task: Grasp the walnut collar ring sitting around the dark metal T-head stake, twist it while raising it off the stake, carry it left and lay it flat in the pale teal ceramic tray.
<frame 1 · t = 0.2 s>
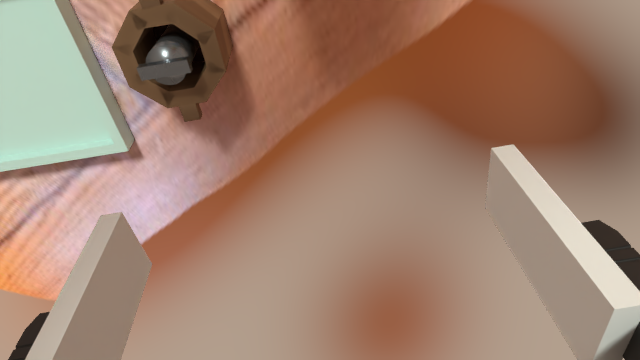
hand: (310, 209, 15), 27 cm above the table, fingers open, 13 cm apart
stake: (184, 35, 38), on the table
tray: (8, 76, 39), on the table
ring: (184, 35, 38), on the table
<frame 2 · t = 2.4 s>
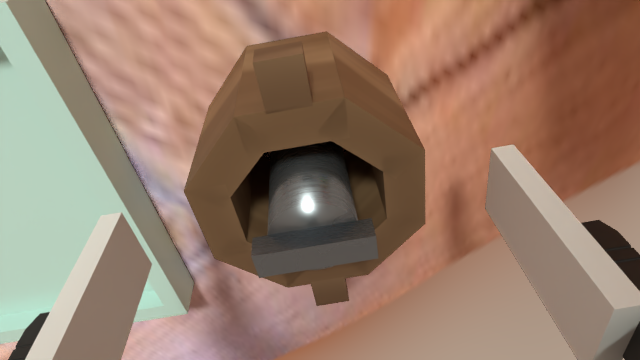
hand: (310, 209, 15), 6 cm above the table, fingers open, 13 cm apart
stake: (304, 123, 19), on the table
ring: (304, 123, 19), on the table
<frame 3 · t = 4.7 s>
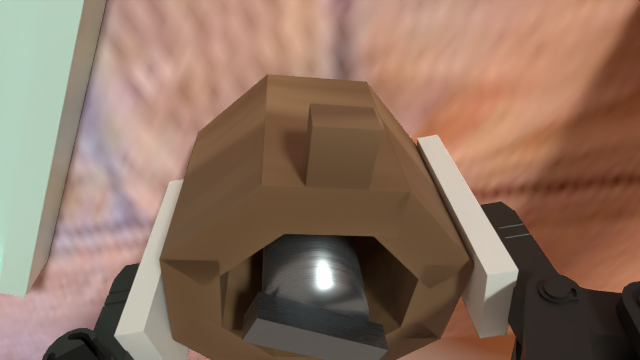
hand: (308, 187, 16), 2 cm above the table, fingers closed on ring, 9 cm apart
stake: (302, 168, 18), on the table
ring: (306, 175, 16), point 1 cm above the table, touching gripper
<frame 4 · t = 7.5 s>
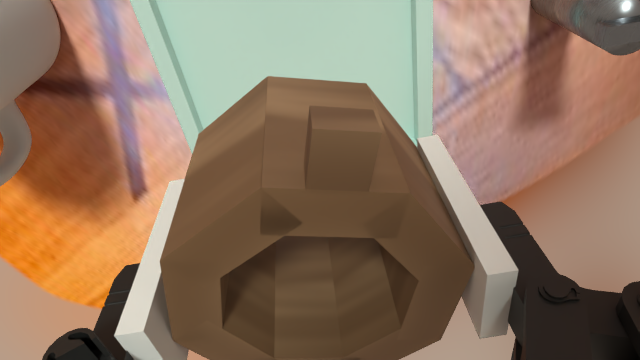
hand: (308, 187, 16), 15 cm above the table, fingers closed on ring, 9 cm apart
tray: (296, 53, 28), on the table
mug: (4, 42, 27), on the table
ring: (306, 176, 16), point 14 cm above the table, touching gripper
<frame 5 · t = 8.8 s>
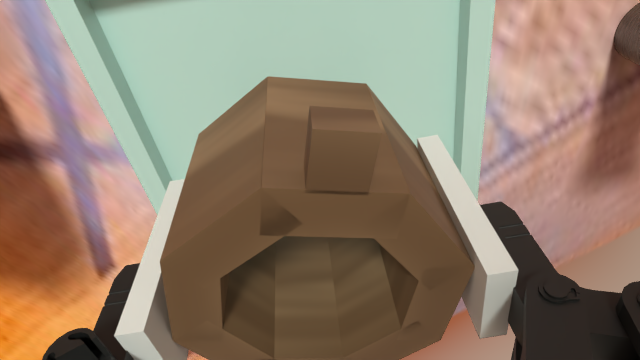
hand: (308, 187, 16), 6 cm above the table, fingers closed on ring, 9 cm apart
tray: (303, 107, 21), on the table
ring: (306, 176, 16), point 6 cm above the table, touching gripper
when the fingers open (2 cm above the table, at t = 10.1 s): ring drops 1 cm, resting on tray.
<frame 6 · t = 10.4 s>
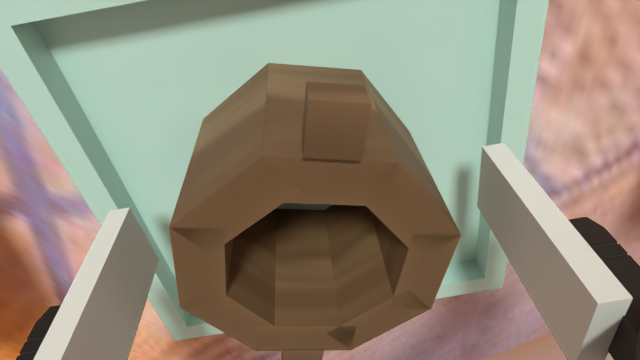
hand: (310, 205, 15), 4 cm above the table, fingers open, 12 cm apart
tray: (305, 154, 18), on the table
ring: (305, 160, 17), point 1 cm above the table, touching tray
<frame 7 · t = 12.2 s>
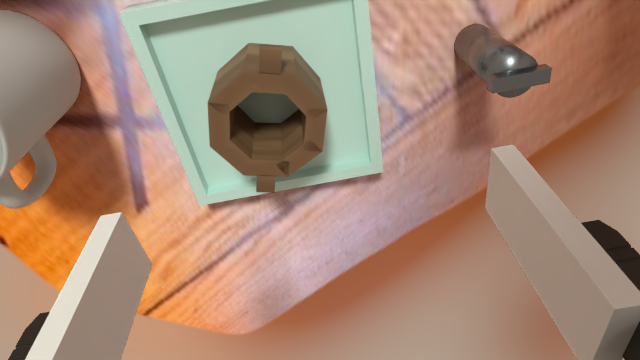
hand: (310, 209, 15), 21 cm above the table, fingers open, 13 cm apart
stake: (472, 42, 34), on the table
tray: (269, 92, 35), on the table
mug: (36, 86, 33), on the table
ring: (269, 93, 34), point 1 cm above the table, touching tray
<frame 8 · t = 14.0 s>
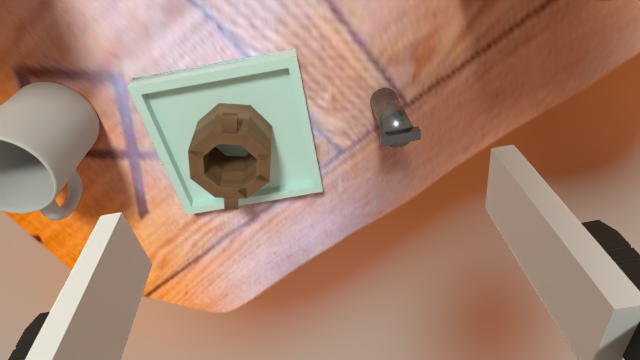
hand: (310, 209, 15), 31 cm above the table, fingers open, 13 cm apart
stake: (383, 100, 47), on the table
tray: (236, 134, 48), on the table
mug: (67, 130, 46), on the table
ring: (235, 136, 47), point 1 cm above the table, touching tray
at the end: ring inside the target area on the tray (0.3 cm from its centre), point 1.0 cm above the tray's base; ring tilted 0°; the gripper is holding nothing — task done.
